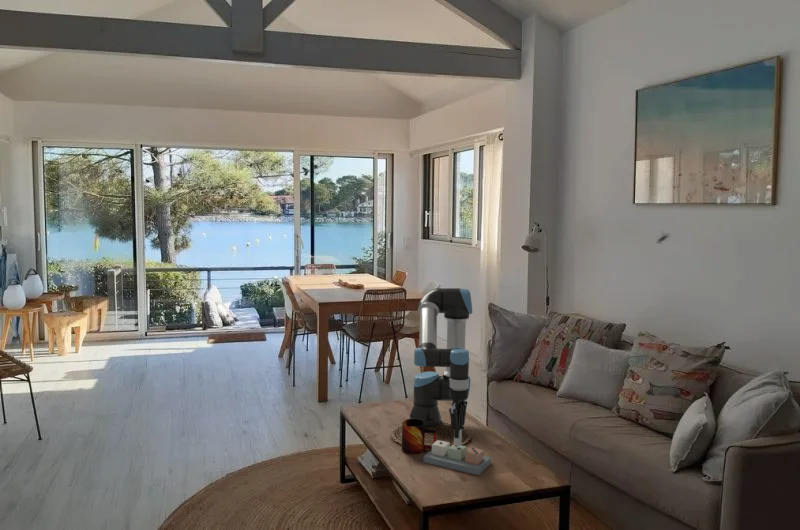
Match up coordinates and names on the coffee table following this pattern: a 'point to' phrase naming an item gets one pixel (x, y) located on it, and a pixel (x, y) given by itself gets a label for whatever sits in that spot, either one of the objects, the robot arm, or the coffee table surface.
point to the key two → (456, 452)
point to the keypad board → (457, 463)
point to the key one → (440, 448)
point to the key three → (474, 456)
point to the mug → (415, 436)
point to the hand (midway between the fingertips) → (457, 444)
